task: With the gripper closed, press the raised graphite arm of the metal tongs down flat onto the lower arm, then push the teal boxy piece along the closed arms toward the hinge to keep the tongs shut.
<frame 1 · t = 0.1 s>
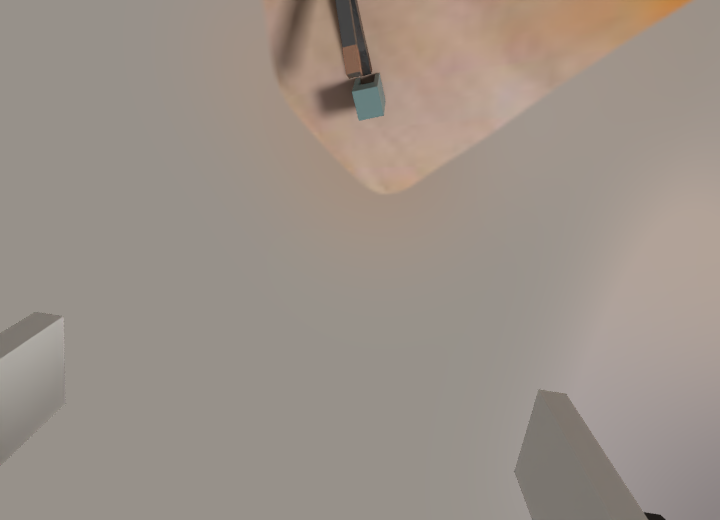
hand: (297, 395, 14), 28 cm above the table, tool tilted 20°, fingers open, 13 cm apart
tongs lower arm: (356, 24, 34), on the table
teal boxy piece: (369, 96, 35), point 2 cm above the table, slide at 0.0 cm
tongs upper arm: (344, 6, 30), point 4 cm above the table, hinge at 35.0°
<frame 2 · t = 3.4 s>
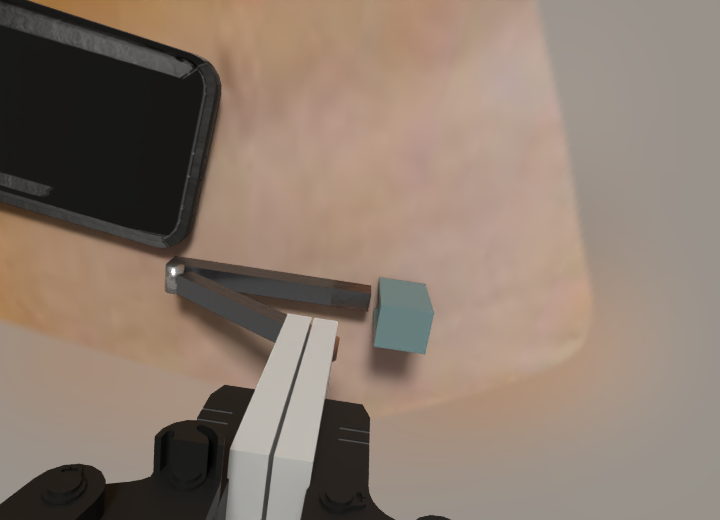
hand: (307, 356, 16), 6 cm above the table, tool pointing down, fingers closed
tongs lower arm: (299, 283, 22), on the table
phone: (30, 106, 21), on the table
teal boxy piece: (400, 313, 21), point 2 cm above the table, slide at 0.0 cm
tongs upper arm: (241, 309, 19), point 4 cm above the table, hinge at 32.8°, touching gripper
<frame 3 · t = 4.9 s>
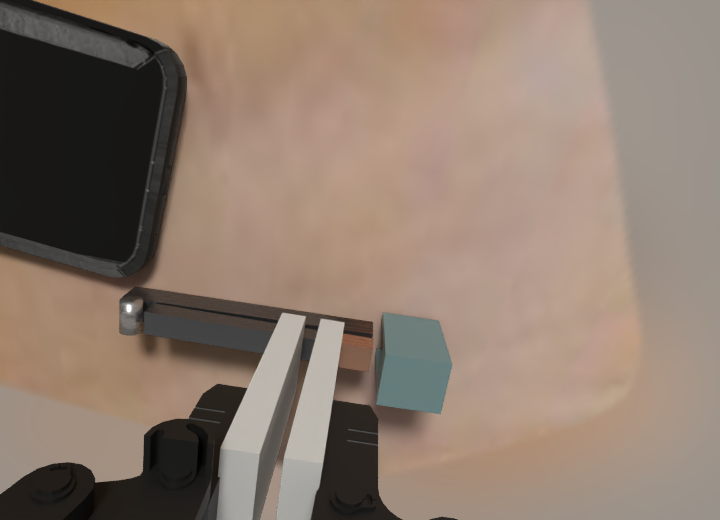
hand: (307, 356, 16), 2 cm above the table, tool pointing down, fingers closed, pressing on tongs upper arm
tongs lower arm: (285, 319, 18), on the table
teal boxy piece: (409, 359, 17), point 2 cm above the table, slide at 0.0 cm
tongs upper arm: (245, 334, 17), point 2 cm above the table, hinge at 2.0°, touching gripper
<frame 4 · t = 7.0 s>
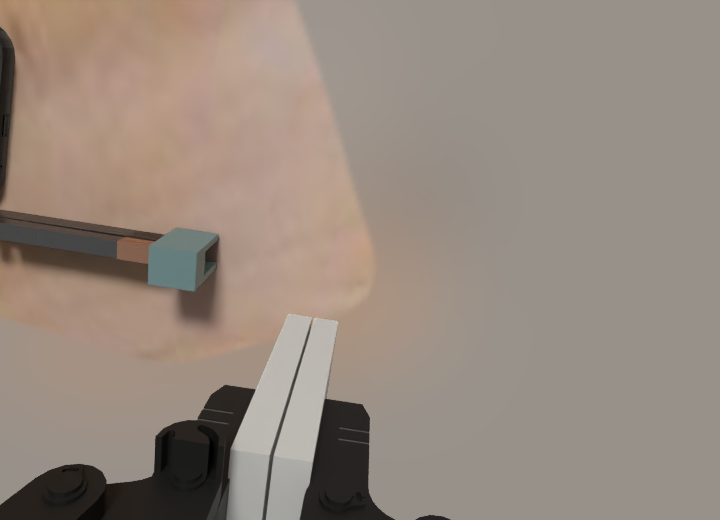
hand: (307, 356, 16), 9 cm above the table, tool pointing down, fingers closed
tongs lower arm: (105, 233, 24), on the table
teal boxy piece: (185, 257, 23), point 2 cm above the table, slide at 0.0 cm
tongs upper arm: (64, 238, 23), point 2 cm above the table, hinge at 1.2°
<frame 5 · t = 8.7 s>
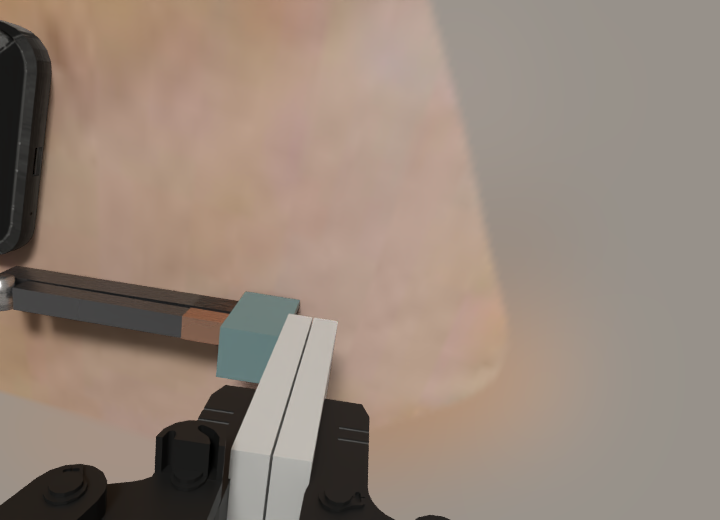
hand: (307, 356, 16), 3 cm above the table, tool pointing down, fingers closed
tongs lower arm: (161, 298, 19), on the table
teal boxy piece: (260, 335, 17), point 2 cm above the table, slide at 0.3 cm, touching gripper
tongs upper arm: (112, 310, 17), point 2 cm above the table, hinge at 1.2°
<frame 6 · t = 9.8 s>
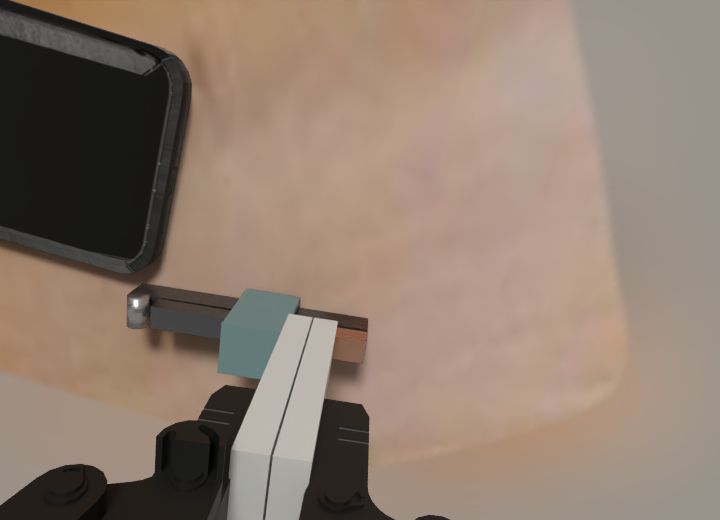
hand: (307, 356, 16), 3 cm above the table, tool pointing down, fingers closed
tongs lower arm: (284, 315, 19), on the table
teal boxy piece: (261, 332, 17), point 2 cm above the table, slide at 4.9 cm, touching gripper
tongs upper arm: (246, 328, 17), point 2 cm above the table, hinge at 1.1°
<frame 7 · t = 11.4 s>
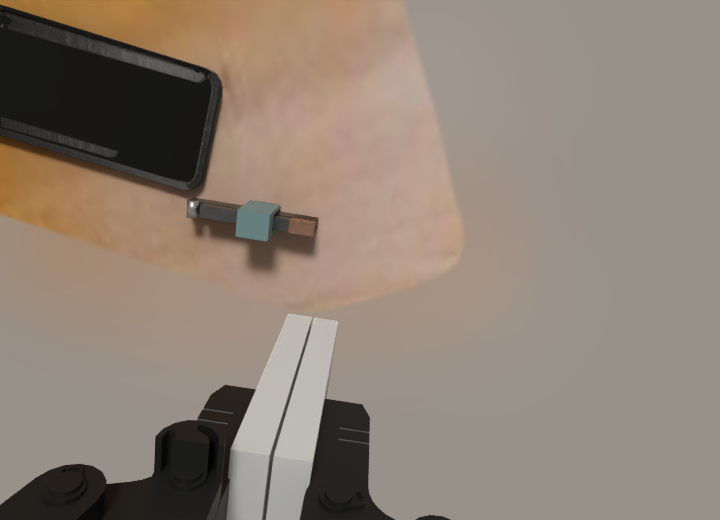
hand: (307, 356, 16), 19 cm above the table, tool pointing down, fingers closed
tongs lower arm: (272, 216, 34), on the table
phone: (104, 102, 33), on the table
teal boxy piece: (258, 220, 32), point 2 cm above the table, slide at 4.9 cm
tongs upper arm: (250, 218, 33), point 2 cm above the table, hinge at 1.1°
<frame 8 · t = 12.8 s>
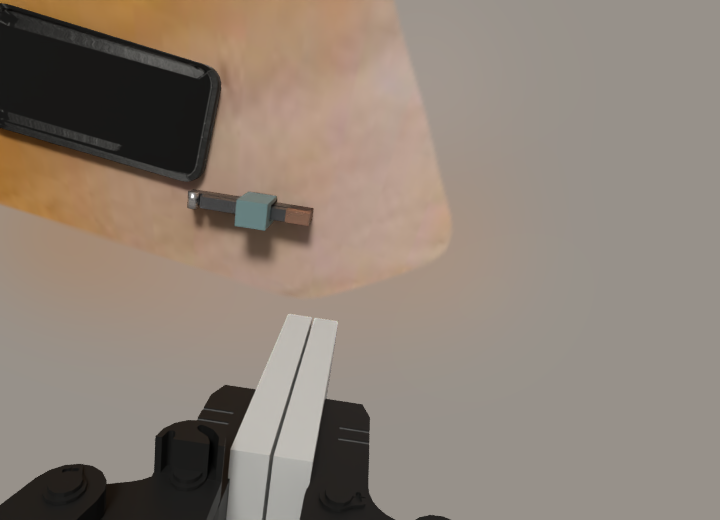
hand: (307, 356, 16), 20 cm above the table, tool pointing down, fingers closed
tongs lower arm: (269, 206, 36), on the table
phone: (107, 97, 34), on the table
teal boxy piece: (256, 210, 34), point 2 cm above the table, slide at 4.9 cm
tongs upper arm: (248, 208, 34), point 2 cm above the table, hinge at 1.1°
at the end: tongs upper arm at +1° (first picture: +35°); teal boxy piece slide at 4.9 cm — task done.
